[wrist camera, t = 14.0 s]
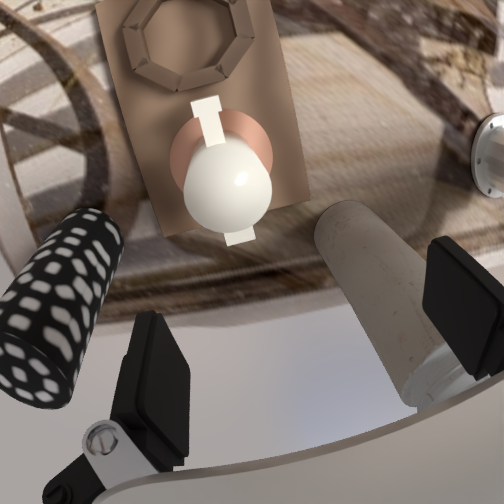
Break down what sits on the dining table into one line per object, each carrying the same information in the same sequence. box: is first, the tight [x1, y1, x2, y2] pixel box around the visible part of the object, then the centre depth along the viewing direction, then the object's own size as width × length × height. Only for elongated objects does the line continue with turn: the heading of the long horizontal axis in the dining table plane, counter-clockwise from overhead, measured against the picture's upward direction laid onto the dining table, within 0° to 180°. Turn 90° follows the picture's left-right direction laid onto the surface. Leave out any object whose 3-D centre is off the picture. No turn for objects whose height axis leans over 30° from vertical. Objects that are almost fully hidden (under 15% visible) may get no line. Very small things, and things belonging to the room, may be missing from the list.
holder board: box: [95, 0, 310, 237], centre depth 27 cm, size 16×26×3 cm, turn 11°
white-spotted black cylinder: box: [0, 208, 124, 410], centre depth 26 cm, size 8×8×20 cm
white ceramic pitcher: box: [184, 94, 272, 246], centre depth 26 cm, size 11×6×10 cm, turn 12°
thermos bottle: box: [314, 201, 491, 413], centre depth 26 cm, size 8×8×28 cm
